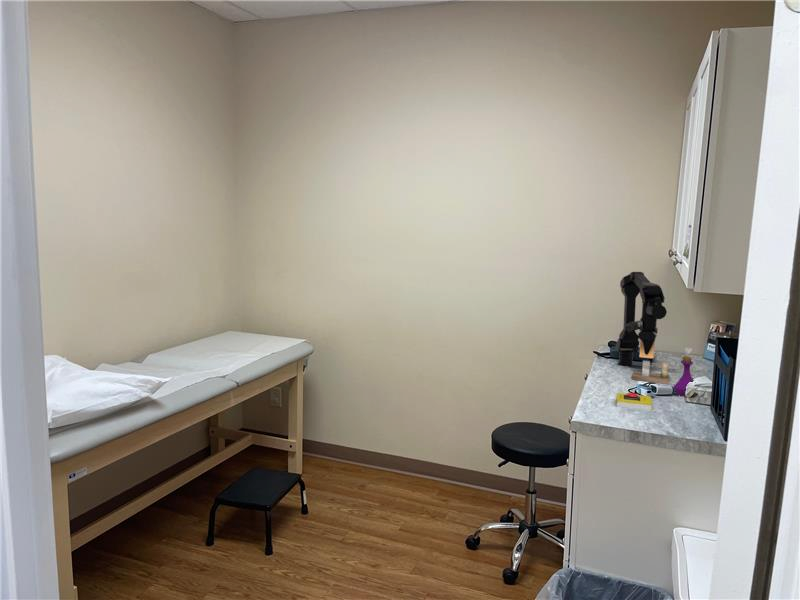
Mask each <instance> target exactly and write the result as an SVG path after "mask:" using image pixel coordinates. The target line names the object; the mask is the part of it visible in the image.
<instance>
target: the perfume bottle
mask: <svg viewBox="0 0 800 600" xmlns="http://www.w3.org/2000/svg"><path fill="white" fill-rule="evenodd" d="M693 350H694V348H692V347H684V352H685V353H686V354H687V355H686V356H685V355H683V356H682V360H681V361H680V364H682V365H683V373H682V375H681V377H680V378H679V380H678V381H677V382H676V383H675V384H674V385H673V387H672V388H673V390H674V392H675V393H676V394H677V396H678V395H680V396H679V397H682V396H685V391H686V386H687V384H688V383H689V382H693V381H695V379H694V378H693V377H692V375H691V370H690V368H691V366H692V365H694V361H692V359H693V358H692V357H690V356H688V355H689V354H690V353H691V352H693Z"/></svg>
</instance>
